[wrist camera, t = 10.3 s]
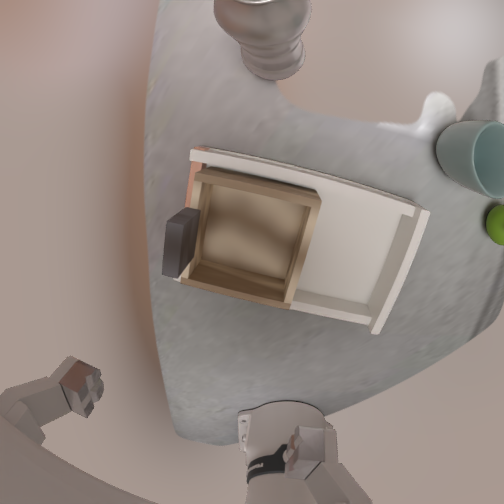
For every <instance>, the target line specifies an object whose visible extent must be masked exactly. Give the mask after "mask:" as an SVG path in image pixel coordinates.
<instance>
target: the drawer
mask: <svg viewBox="0 0 504 504" xmlns="http://www.w3.org/2000/svg"><path fill="white" fill-rule="evenodd" d="M321 203H322V200H321V198H320V197H319V195H318V193H317V191H316V190H314V189H310V188H306V187H302V186H298V185H294V184H290V183H286V182H282V181H278V180H273V179H269V178H265V177H260V176H256V175H251V174H247V173H242V172H237V171H233V170H228V169H223V168H218V167H213V166H211V167H208V168H205V169H203V170H200V171H198V172H195V177H194V183H193V190H192V196H191V203H190V208H189V207H186V208H184V209H183V210H181V211H180V212H179V213H177V214H176V215H175V216H173V217H172V218H171V219H169V220H168V221H167V224H166V233H165V244H164V255H163V267H162V275H165V276H169V277H172V278H176V279H178V278H179V276H180V275H181V282H180V283H181V284H185V285H189V286H193V287H196V288H200V289H204V290H208V291H212V292H215V293H219V294H223V295H227V296H231V297H235V298H239V299H243V300H248V301H252V302H256V303H260V304H264V305H269V306H273V307H277V308H282V309H286V310H289V309H290V306H291V303H292V300H293V297H294V294H295V290H296V287H297V284H298V281H299V278H300V275H301V271H302V268H303V265H304V262H305V258H306V255H307V252H308V248H309V245H310V242H311V238H312V235H313V231H314V228H315V225H316V221H317V217H318V214H319V210H320V207H321Z"/></svg>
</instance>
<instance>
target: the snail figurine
mask: <svg viewBox="0 0 504 504" xmlns="http://www.w3.org/2000/svg"><path fill="white" fill-rule="evenodd" d="M486 228H487V232H488V235H489V236H490V238H491V239H492V240H493V241H494V242H495V243H497V244H499V245H504V205H498V206H496V207H494V208H493V209H492V210H491V211H490V212H489V214H488V216H487V221H486Z"/></svg>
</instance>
